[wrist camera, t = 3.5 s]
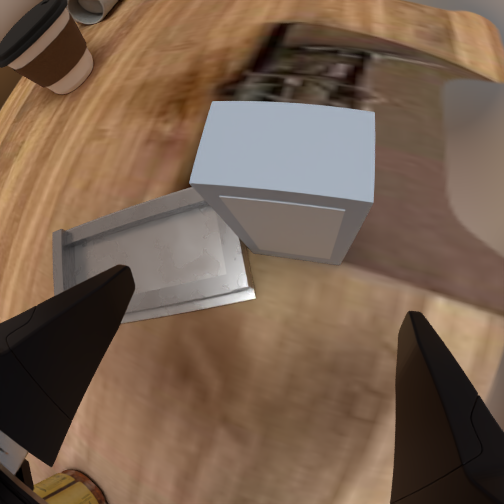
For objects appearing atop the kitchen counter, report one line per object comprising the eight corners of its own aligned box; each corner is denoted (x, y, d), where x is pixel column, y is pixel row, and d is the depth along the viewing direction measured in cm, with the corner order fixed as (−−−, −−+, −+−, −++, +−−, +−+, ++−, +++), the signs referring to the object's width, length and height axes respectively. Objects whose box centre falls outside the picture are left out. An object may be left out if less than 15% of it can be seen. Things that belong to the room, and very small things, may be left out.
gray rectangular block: (339, 265, 20) (373, 204, 9) (253, 253, 22) (188, 184, 10) (345, 215, 21) (374, 111, 10) (261, 205, 22) (212, 100, 11)
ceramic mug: (135, -9, 34) (116, -39, 27) (112, 18, 33) (89, -14, 26) (91, 6, 37) (72, -19, 30) (69, 34, 36) (46, 8, 28)
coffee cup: (81, 46, 33) (39, -2, 21) (124, 48, 30) (77, -15, 19) (35, 104, 32) (-17, 61, 20) (70, 115, 29) (6, 60, 18)
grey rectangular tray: (232, 177, 23) (225, 165, 21) (256, 298, 21) (250, 296, 19) (67, 231, 25) (52, 225, 23) (73, 330, 23) (57, 330, 21)
